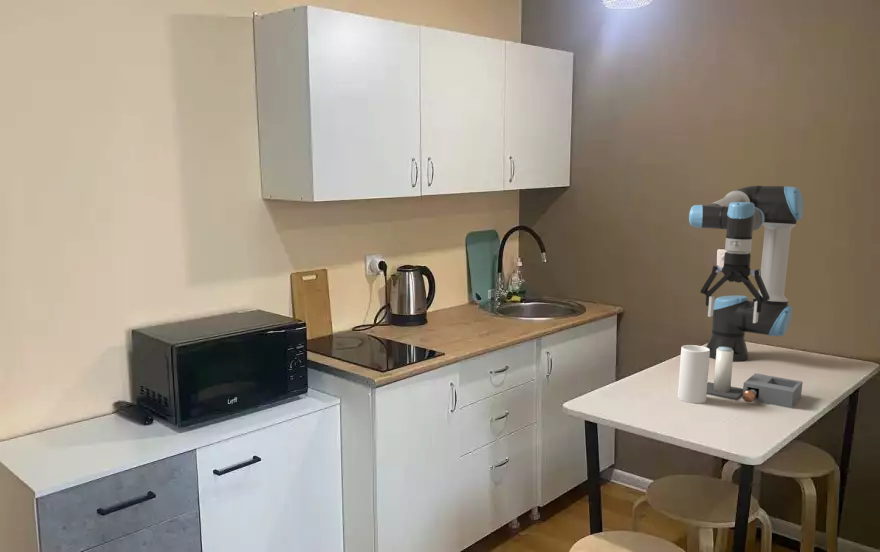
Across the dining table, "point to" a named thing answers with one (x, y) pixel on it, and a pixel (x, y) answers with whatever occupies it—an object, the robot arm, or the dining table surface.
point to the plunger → (750, 395)
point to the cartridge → (723, 369)
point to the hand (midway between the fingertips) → (732, 319)
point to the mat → (733, 393)
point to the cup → (693, 373)
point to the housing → (774, 390)
